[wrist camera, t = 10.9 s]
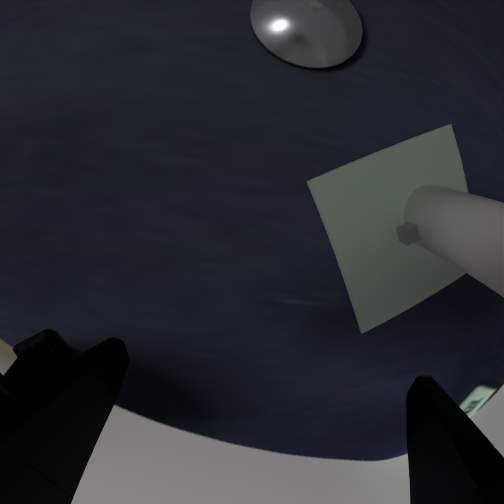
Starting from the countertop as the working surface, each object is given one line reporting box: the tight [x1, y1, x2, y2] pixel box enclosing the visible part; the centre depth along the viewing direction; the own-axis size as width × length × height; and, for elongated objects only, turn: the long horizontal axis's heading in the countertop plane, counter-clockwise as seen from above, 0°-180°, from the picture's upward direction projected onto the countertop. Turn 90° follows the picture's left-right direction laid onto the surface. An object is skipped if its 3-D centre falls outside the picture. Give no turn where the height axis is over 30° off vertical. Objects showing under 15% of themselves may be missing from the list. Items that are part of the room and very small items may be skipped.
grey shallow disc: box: [250, 0, 362, 70], centre depth 14 cm, size 7×7×1 cm
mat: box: [307, 124, 468, 333], centre depth 18 cm, size 12×12×1 cm
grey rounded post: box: [396, 184, 504, 297], centre depth 13 cm, size 6×4×11 cm
